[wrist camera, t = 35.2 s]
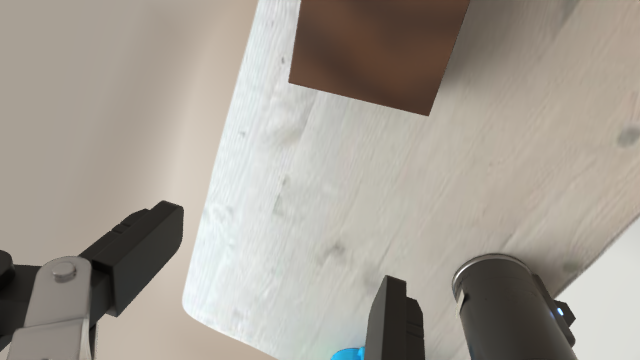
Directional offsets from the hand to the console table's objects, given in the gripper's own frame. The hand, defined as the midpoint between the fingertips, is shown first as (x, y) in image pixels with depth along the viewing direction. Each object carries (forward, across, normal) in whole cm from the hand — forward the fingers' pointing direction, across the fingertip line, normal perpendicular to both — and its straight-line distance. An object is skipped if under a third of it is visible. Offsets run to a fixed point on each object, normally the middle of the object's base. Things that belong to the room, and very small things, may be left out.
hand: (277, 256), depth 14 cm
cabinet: (+27, 0, -9) cm, 28 cm away
